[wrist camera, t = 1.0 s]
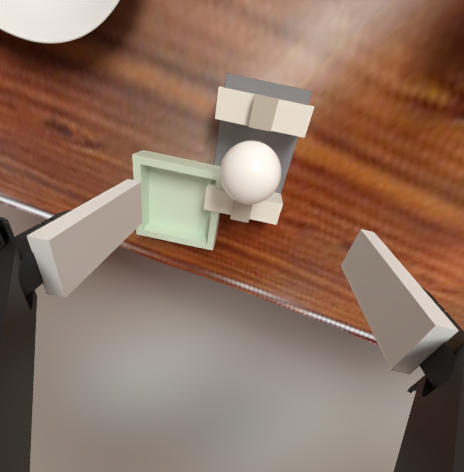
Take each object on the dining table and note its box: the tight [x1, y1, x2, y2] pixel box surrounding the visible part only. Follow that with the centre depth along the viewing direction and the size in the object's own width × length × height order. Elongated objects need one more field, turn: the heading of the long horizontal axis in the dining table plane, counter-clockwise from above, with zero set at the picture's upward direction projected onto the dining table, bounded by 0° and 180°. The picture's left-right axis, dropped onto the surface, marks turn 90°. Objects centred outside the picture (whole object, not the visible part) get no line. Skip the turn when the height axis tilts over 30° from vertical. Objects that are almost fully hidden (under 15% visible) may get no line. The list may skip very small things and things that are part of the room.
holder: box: [204, 73, 314, 225], centre depth 28 cm, size 10×17×6 cm, turn 170°
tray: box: [132, 150, 223, 250], centre depth 33 cm, size 12×12×3 cm
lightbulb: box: [219, 140, 281, 205], centre depth 25 cm, size 6×6×11 cm
